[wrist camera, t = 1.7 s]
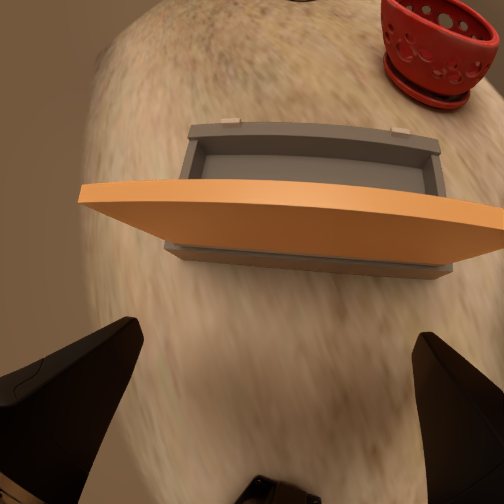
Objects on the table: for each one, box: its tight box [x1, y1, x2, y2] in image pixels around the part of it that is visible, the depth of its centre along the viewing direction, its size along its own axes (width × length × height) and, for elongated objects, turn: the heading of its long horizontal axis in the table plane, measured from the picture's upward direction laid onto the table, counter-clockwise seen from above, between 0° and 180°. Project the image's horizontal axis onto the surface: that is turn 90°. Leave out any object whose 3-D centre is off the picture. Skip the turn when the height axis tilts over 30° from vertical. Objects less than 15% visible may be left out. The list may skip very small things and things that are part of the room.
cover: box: [78, 179, 504, 267], centre depth 14 cm, size 10×19×1 cm
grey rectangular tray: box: [164, 118, 453, 280], centre depth 21 cm, size 11×22×5 cm, turn 83°
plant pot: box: [381, 0, 500, 109], centre depth 20 cm, size 13×13×12 cm
